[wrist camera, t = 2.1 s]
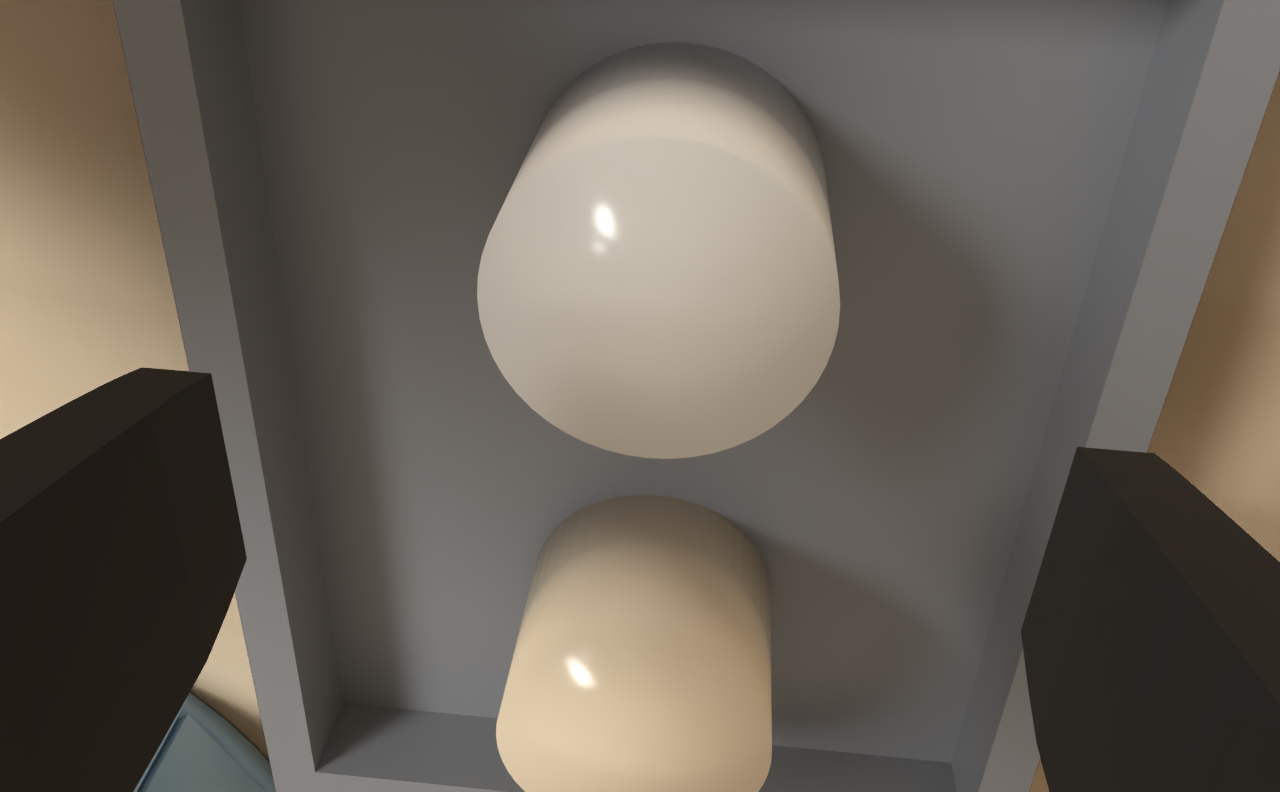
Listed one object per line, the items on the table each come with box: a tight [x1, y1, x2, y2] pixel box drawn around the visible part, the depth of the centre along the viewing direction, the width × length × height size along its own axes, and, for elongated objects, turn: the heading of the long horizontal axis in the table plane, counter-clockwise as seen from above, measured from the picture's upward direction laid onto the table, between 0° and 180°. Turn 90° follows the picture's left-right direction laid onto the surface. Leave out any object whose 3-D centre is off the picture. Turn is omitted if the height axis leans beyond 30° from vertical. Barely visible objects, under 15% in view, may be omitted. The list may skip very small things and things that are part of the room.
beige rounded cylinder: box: [496, 495, 772, 792], centre depth 18 cm, size 4×4×3 cm
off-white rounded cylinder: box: [477, 42, 840, 459], centre depth 14 cm, size 4×4×3 cm
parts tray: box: [113, 0, 1280, 792], centre depth 17 cm, size 16×13×2 cm
